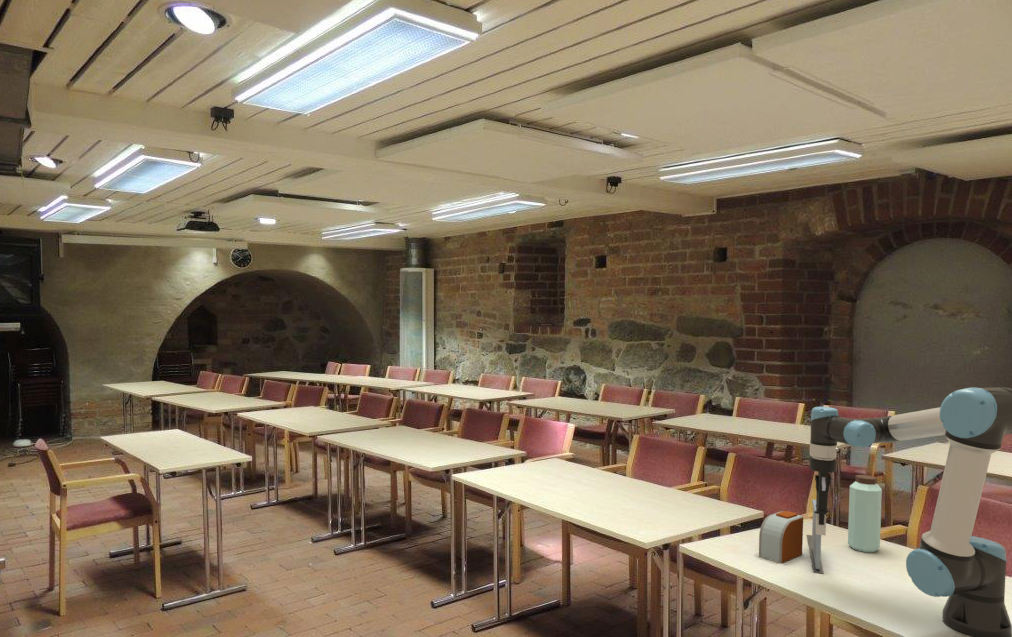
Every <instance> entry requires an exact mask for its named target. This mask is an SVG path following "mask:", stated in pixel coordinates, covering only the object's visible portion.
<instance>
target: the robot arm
mask: <svg viewBox="0 0 1012 637" xmlns="http://www.w3.org/2000/svg"><path fill="white" fill-rule="evenodd" d="M839 415H840V414H839V411H838V408H835V407H831V406H830V407H829V406H815V407H813V408H812V409H811V414H810V439H809V440H810V442H809V456H810V457H809V469H810V471H814V472H817V474H815V475H814V481H815V489H816V490H815V491H816V499H815V500H816V508H817V509H816V510H817V511H815V513H816V534H817V535H821V536H826V532H827V531H826V530H827V529H826V528H827V514H828V513H829V510H828V499H829V498H828V495H829V490H830V489H829V488H830V487H829V486H830V483H831V478H830V476H828V474H831V473H836V471H837V460H836V459H837V456H838V455H837V453H838V452H839V451H840V448H838V446H837V445H838V443H841V444H845V445H849V446H852V447H855V448H856V447H858V448H865V449H866V448H868V447H870V446H871V445H874V444H891V443H892V444H893V443H898V442H899V441H901V442H902V441H909V440H917V439H923V438H924V439H925V438H932V437H938V436H944V437H945V438H946V440H947V441H948V442H949V447H948V452H947V457H946V462H945V466H944V470H943V475H942V478H941V482H940V487H939V491H938V495H937V496H938V497H937V500H936V504H935V505H936V506H935V509H934V513H933V517H932V522H931V527H930V530H927V531H926V532H923V533H922V535H921V538H920V543H919V547H918V548H915V549H913V550H912V551H909V553H908V555H907V557H906V559H905V567H906V572H907V574H908V577H909V578H910V579H911V582H912V583H913V584H914V586H915V587H916V588H917V589H918V590H920V592H922V593H924V594H925V595H927V596H930V597H935V598H940V597H944V598H945V597H946V598H947V597H948V598H947V600H946V602H945V605H944V606H943V609H942V617H941V620H942V621H943V622H944V624H946V626H948V627H950V628H951V629H953V630H955V631H958V633H959V632H960V633H963V634H965V635H968V636H972V637H1012V622H1011V619H1010V616H1009V613H1008V610H1007V607H1006V606H1007V605H1006V604H1005V603H1006V602H1005V596H1006V595H1005V593H1006V573H1007V572H1006V569H1007V562H1008V560H1007V552H1006V551H1007V550H1006V548H1005V547H1004V546H1003V545H1002V544H1000V543H998V542H996V541H993V540H990V539H987V538H983V537H978V536H974V535H972V534H973V531H974V526H975V522H976V519H977V515H978V510H979V506H980V503H981V499H982V494H983V489H984V485H985V481H986V477H987V473H988V469H989V464H990V460H991V457H992V454H993V453H996V452H999V451H1000V450H1001V449H1002V445H1003V444H1002V443H1003V440H1004V435H1005V436H1006V435H1012V388H1009V387H1005V386H1004V387H1003V386H1001V387H1000V386H998V387H976V386H975V387H974V386H973V387H966V388H963V389H962V388H961V389H957V390H954V391H953V392H951V393H950V394H948V395H947V396H946V397H945V398H944V399H943V401H942V403H941V404H940V406H939V407H934V408H928V409H923V410H918V411H911V412H906V413H900V414H899V413H898V414H893V415H887V416H882V417H873V418H872V417H867V418H863V417H862V418H847V417H844V416H843V417H841V416H839Z"/></svg>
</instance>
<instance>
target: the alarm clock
mask: <svg viewBox="0 0 1012 637" xmlns="http://www.w3.org/2000/svg"><path fill="white" fill-rule="evenodd" d="M758 535H759V536H758V537H759V538H758V539H759V540H758V541H759V542H758V557H760V558H763V559H766V560H770V561H771V562H772V561H773V562H776V563H779V564H783V563H786V562H788V561H790V560H792V559H795V558H797V557H800V556H802V555H803V540H804V539H803V538H804V537H803V536H804V516H803V515H800V514H798V513H797V512H793V511H788V510H783V511H782V510H781V511H778V512H774V513H772V514H769V515H767V516H766V517H765V518H764V520H763V521H762V523H761V525H760V530H759V534H758Z"/></svg>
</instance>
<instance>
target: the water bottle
mask: <svg viewBox="0 0 1012 637" xmlns="http://www.w3.org/2000/svg"><path fill="white" fill-rule="evenodd" d="M854 479H855V481H853V483H851V484H850V485H849V496H848V497H849V498H848V500H849V502H848V525H847V527H848V528H847V530H848V532H847V544H848V545H849V547H850V548H851V547H852V549H853V550H854V549H855V550H854V551H857V550H858V552H861V551H862V552H861V553H873V552H874V553H876V552H877V551H878V550H879V549H880V548H881V531H882V530H881V528H882V526H881V522H882V499H883V498H882V495H883V494H882V493H883V489H882V488H881V486H879V484H878V479H877V477H875V476H873V475H867V474H857V475H855V478H854ZM875 551H876V552H875Z"/></svg>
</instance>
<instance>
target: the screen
mask: <svg viewBox="0 0 1012 637" xmlns="http://www.w3.org/2000/svg"><path fill="white" fill-rule="evenodd" d="M811 504H812V530H811V531H812V532H811V535H812V551H813V556H814V561H815V566H816V569H820V558H822V555H821V554H822V553H821V552H822V550H821V549H822V535H817V534H816V513H815V511H817V510H816V509H817V508H816V499H811Z"/></svg>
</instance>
